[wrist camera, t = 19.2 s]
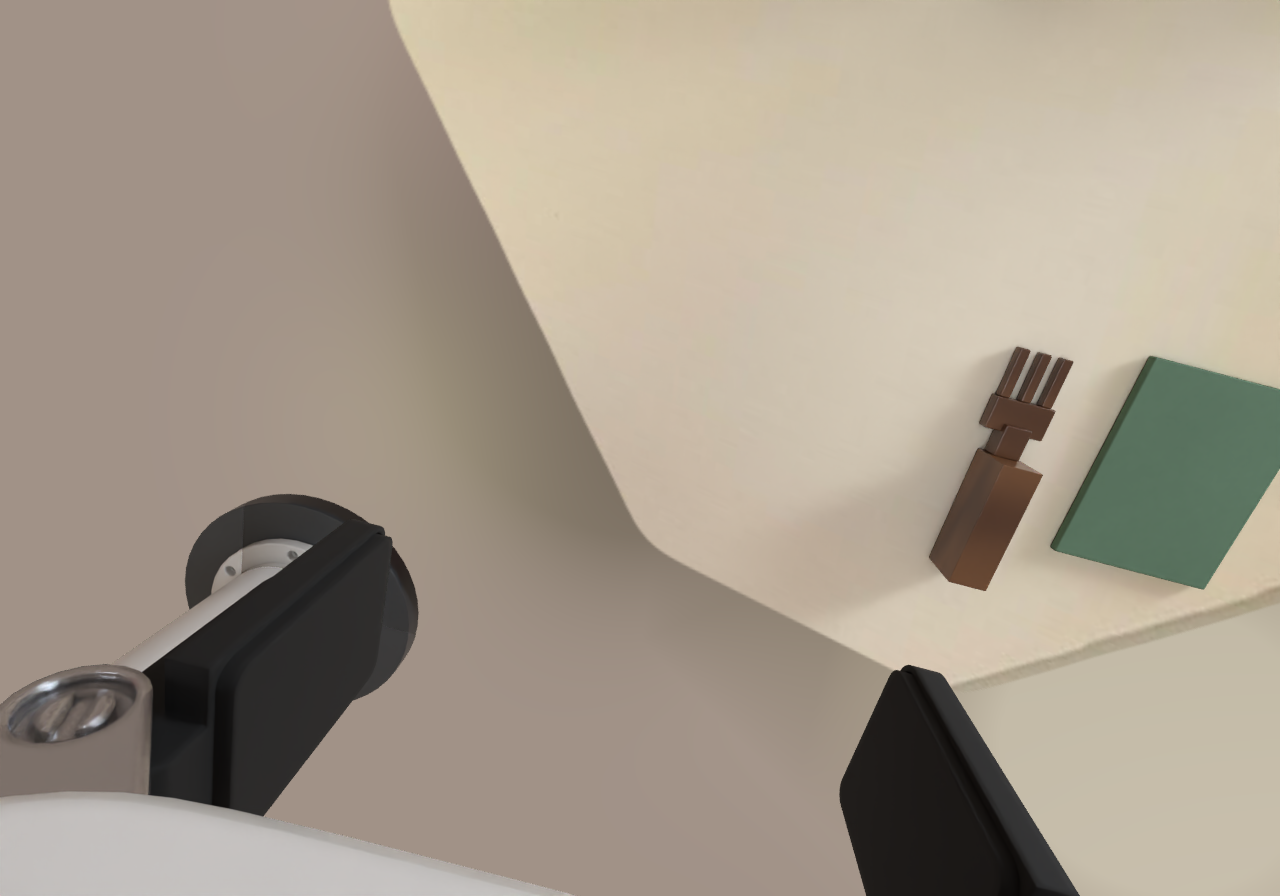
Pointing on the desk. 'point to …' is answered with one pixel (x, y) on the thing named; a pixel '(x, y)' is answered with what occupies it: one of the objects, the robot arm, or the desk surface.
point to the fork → (998, 476)
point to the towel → (1176, 474)
